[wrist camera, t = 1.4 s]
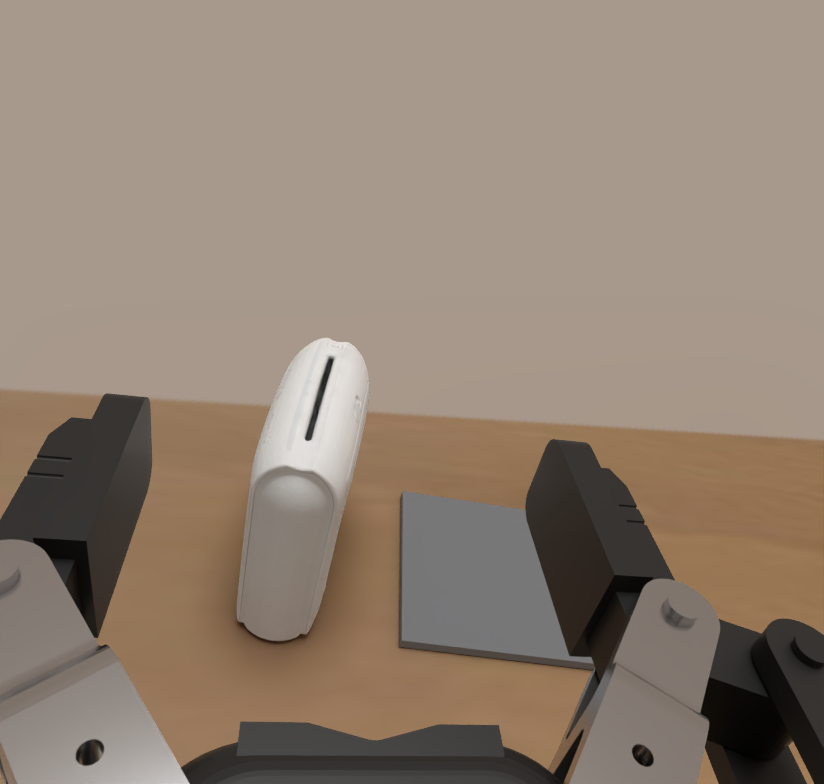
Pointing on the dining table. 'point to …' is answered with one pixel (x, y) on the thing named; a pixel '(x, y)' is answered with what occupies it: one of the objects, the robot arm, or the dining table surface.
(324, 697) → the dining table surface
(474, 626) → the rubber mat
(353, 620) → the dining table surface
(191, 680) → the dining table surface
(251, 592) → the photo printer
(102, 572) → the robot arm
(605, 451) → the dining table surface
